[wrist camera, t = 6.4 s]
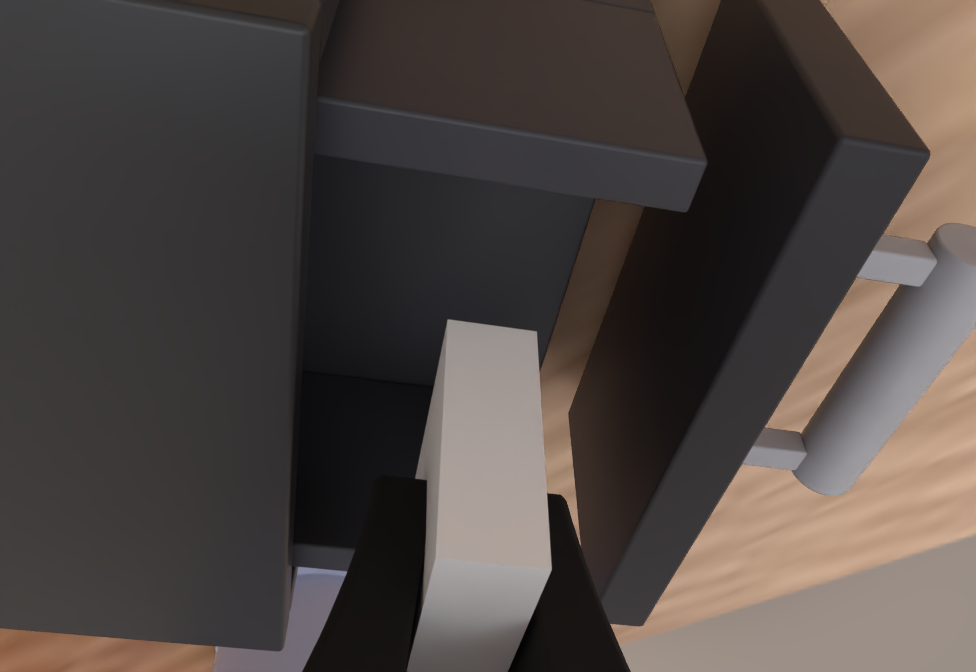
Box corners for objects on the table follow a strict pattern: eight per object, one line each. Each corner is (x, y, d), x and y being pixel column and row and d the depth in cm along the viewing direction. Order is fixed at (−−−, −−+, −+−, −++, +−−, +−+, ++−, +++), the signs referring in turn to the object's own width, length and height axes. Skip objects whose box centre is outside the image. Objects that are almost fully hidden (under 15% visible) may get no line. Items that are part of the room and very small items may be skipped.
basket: (1024, 16, 15) (1238, 205, 11) (762, 437, 22) (827, 645, 18) (-53, -197, 13) (-324, -65, 8) (63, 349, 20) (-49, 564, 16)
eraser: (539, 329, 11) (553, 572, 9) (476, 533, 15) (472, 755, 12) (447, 316, 11) (432, 560, 9) (404, 525, 15) (383, 748, 12)
